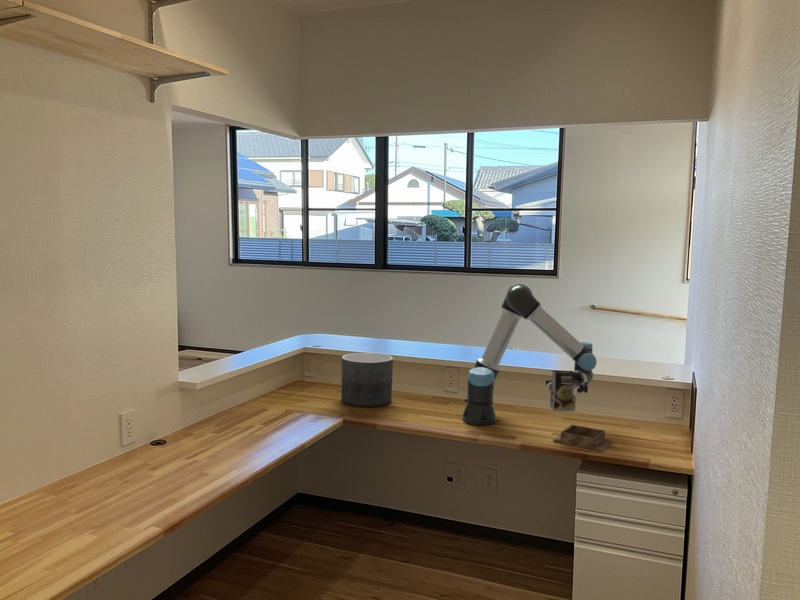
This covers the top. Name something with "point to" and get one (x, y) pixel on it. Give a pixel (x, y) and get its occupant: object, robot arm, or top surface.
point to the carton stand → (584, 438)
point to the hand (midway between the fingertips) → (560, 390)
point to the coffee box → (563, 390)
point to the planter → (367, 379)
